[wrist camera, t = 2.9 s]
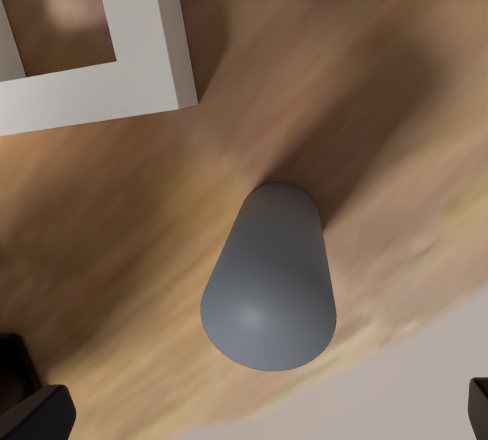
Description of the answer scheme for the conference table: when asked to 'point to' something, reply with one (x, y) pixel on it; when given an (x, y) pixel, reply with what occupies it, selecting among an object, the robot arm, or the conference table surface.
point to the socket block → (103, 73)
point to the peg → (272, 283)
